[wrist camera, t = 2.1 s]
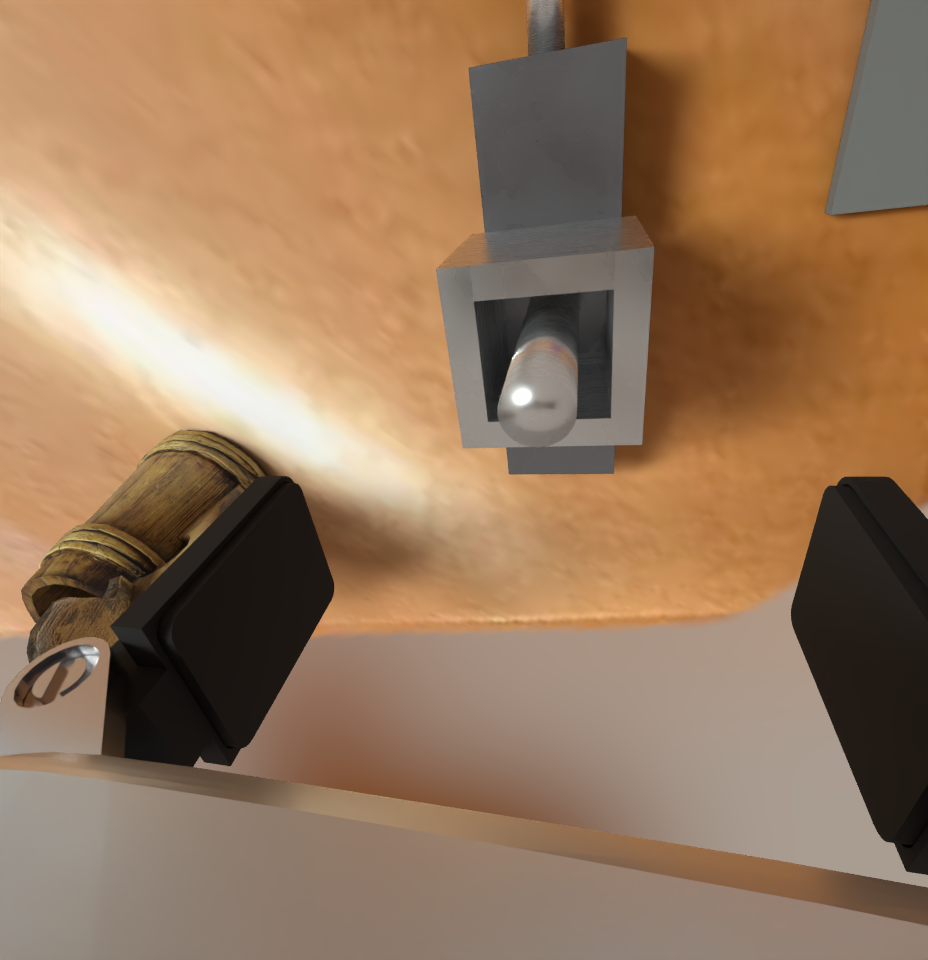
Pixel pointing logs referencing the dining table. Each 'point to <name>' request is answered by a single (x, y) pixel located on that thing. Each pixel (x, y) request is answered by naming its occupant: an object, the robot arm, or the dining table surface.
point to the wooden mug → (133, 538)
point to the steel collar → (548, 271)
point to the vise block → (550, 218)
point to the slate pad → (886, 115)
